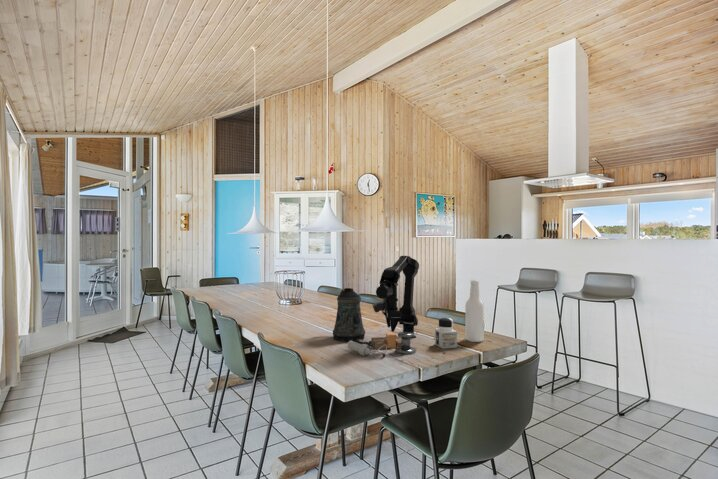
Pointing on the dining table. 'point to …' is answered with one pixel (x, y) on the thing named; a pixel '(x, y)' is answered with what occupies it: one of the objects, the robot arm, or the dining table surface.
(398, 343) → the notched board
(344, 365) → the dining table surface
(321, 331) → the dining table surface
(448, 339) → the container
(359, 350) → the clip-on lamp
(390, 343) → the block
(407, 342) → the bobbin
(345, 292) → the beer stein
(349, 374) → the dining table surface
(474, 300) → the alcohol
